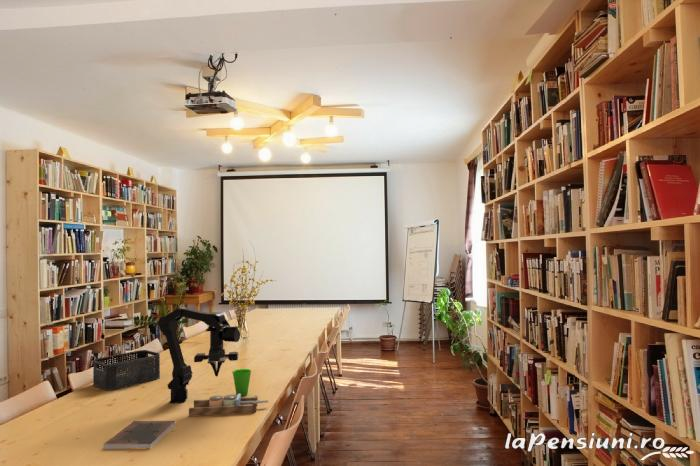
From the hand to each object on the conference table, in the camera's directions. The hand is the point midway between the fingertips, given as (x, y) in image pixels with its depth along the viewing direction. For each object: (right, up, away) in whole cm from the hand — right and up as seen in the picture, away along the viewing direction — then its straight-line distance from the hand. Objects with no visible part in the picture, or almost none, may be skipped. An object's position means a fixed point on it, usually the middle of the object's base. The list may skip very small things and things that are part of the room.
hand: (216, 376), depth 203 cm
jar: (+2, -12, -9) cm, 15 cm away
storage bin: (-58, -15, +36) cm, 70 cm away
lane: (+6, -12, -9) cm, 16 cm away
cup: (+8, -13, +12) cm, 19 cm away
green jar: (+8, -12, -8) cm, 17 cm away
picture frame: (-17, -11, -36) cm, 42 cm away
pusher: (+18, -11, -7) cm, 22 cm away
